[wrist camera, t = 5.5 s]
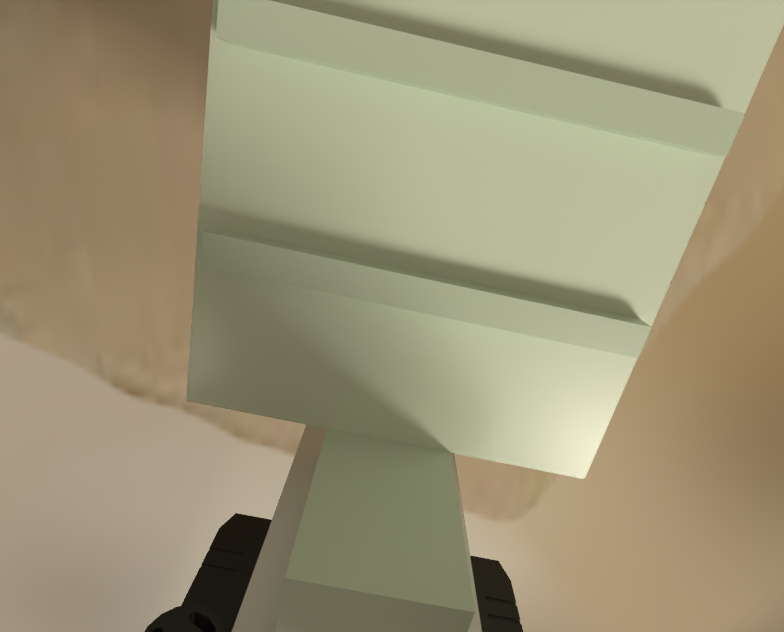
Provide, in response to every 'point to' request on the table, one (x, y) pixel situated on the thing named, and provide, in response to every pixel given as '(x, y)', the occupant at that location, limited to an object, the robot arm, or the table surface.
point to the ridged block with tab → (446, 251)
